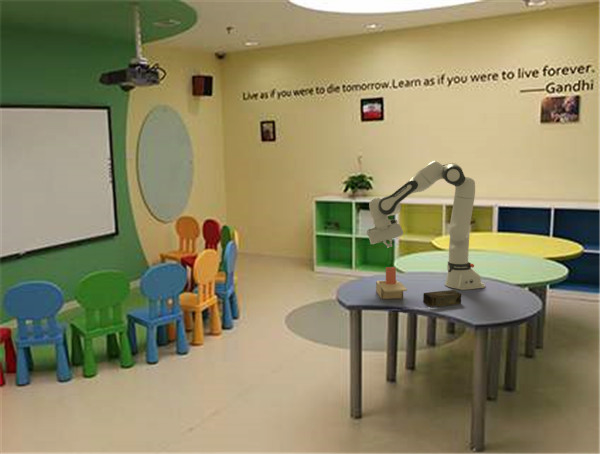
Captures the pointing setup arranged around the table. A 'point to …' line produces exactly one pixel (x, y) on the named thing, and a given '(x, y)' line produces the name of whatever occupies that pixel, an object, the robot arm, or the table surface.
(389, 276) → the lid
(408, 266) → the table surface
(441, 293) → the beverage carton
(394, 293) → the mailer box
